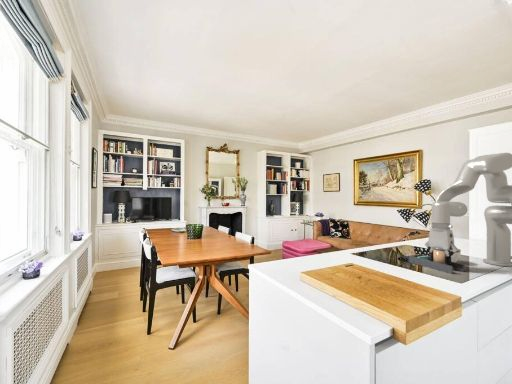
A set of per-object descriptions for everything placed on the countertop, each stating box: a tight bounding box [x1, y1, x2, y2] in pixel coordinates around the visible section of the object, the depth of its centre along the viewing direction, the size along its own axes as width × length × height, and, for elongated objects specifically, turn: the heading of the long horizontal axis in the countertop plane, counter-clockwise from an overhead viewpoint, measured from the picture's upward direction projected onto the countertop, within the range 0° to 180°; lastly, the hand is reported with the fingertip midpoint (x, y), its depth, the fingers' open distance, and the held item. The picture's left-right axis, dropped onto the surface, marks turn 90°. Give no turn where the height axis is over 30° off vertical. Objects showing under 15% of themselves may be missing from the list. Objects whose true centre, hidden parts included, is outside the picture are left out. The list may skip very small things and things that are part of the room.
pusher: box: [417, 255, 429, 260], centre depth 135 cm, size 7×1×4 cm, turn 112°
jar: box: [433, 247, 448, 265], centre depth 127 cm, size 6×6×9 cm
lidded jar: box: [451, 247, 462, 263], centre depth 138 cm, size 11×11×9 cm
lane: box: [407, 253, 465, 275], centre depth 130 cm, size 10×22×4 cm, turn 22°
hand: (440, 261), depth 127 cm, fingers closed on jar, 6 cm apart
